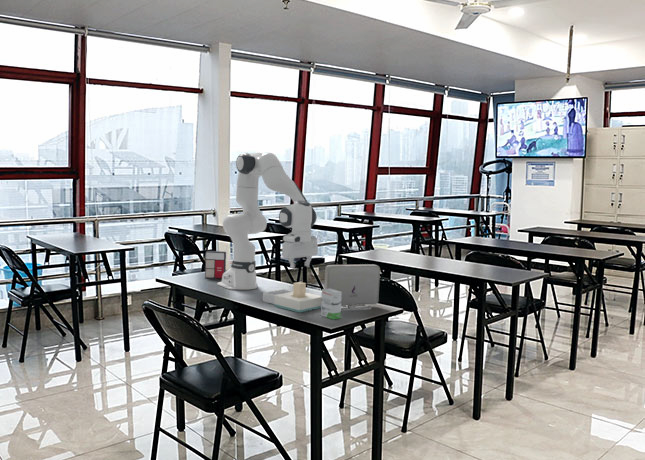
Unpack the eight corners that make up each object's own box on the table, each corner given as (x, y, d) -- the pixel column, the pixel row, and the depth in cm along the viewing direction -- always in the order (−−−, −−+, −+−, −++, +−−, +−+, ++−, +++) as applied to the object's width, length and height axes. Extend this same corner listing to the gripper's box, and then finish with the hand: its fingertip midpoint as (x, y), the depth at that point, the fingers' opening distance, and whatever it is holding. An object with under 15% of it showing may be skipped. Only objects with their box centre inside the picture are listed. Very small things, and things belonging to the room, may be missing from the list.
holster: (262, 301, 282) (262, 292, 282) (283, 297, 292) (283, 289, 292) (274, 304, 277) (274, 295, 276) (295, 299, 287) (295, 291, 287)
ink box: (341, 318, 254) (342, 291, 253) (332, 319, 252) (333, 292, 250) (329, 314, 261) (330, 287, 260) (320, 315, 258) (321, 288, 257)
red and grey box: (204, 278, 334) (205, 251, 332) (206, 276, 338) (206, 250, 336) (224, 279, 333) (224, 252, 332) (225, 277, 338) (226, 251, 336)
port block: (274, 306, 272) (274, 295, 272) (298, 301, 284) (298, 291, 284) (299, 312, 262) (299, 301, 261) (323, 307, 274) (323, 296, 273)
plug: (292, 304, 273) (293, 282, 272) (298, 303, 276) (299, 281, 275) (299, 305, 270) (299, 284, 269) (305, 304, 273) (305, 283, 272)
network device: (327, 311, 267) (329, 267, 265) (321, 306, 275) (323, 264, 273) (380, 309, 275) (382, 266, 273) (372, 304, 283) (374, 263, 281)
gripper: (311, 234, 280) (310, 263, 281) (280, 237, 264) (279, 267, 266) (321, 236, 276) (320, 265, 277) (290, 239, 260) (289, 270, 262)
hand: (299, 266), depth 271 cm, fingers open, 8 cm apart
